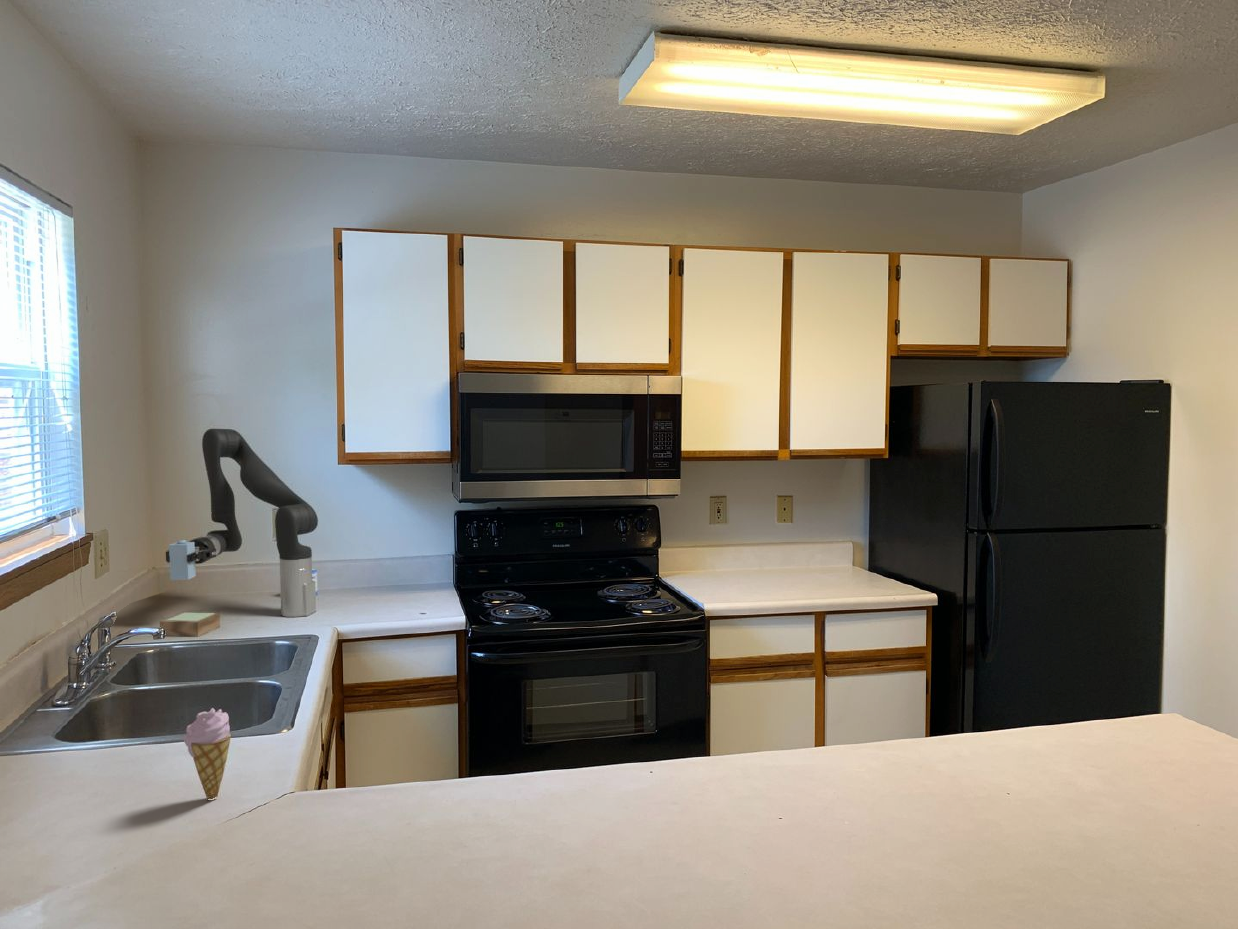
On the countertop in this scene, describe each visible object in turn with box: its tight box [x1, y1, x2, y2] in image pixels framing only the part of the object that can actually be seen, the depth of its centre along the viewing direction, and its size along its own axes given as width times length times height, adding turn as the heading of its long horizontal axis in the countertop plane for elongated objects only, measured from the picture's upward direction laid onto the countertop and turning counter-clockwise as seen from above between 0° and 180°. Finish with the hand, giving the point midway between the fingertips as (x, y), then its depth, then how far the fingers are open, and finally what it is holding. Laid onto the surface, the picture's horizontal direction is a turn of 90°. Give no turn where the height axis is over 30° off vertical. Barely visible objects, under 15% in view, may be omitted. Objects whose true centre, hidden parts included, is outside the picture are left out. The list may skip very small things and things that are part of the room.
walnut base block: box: [159, 611, 221, 638], centre depth 248 cm, size 11×11×4 cm
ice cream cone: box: [183, 707, 232, 799], centre depth 141 cm, size 7×6×15 cm
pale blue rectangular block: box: [168, 539, 197, 581], centre depth 253 cm, size 5×5×11 cm
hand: (178, 558), depth 251 cm, fingers closed on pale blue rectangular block, 5 cm apart
